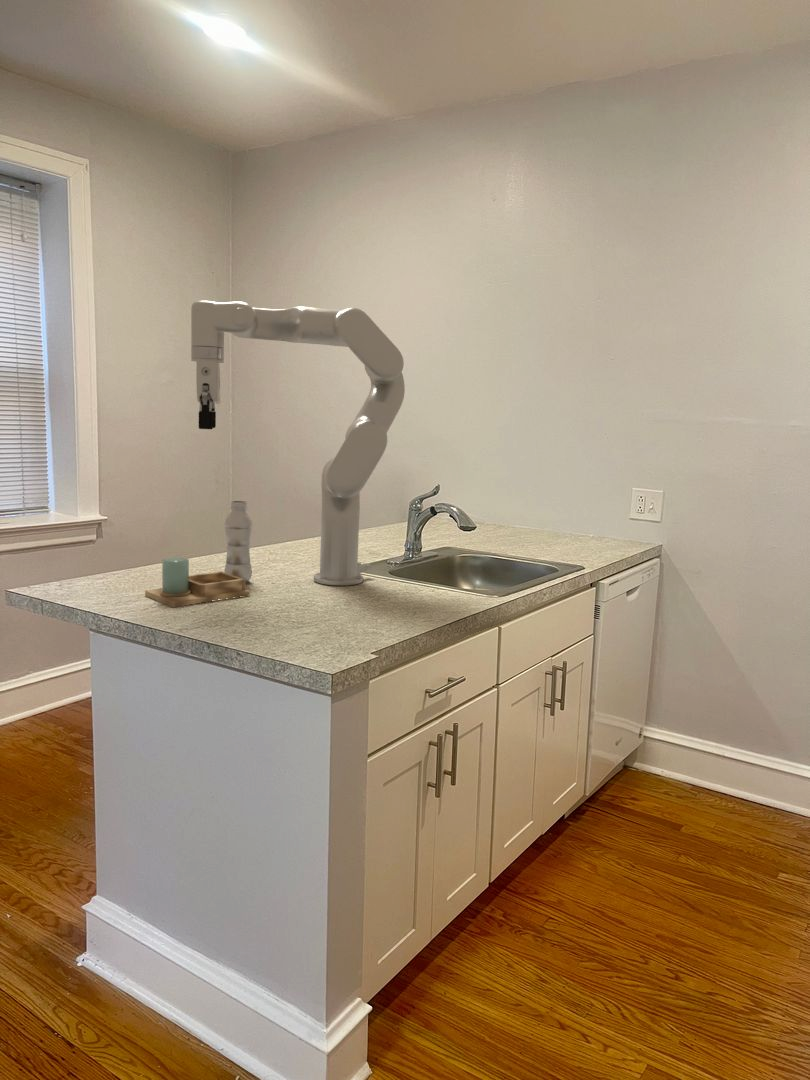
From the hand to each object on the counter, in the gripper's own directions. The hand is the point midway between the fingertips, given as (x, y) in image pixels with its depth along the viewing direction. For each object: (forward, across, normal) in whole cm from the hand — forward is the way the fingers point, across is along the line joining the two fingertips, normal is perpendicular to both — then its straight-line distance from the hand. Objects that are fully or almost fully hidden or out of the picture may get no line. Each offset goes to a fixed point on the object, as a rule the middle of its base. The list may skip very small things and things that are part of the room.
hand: (207, 428), depth 192 cm
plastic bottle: (+38, -2, -8) cm, 38 cm away
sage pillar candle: (+36, -20, +5) cm, 41 cm away
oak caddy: (+37, -17, +1) cm, 41 cm away
